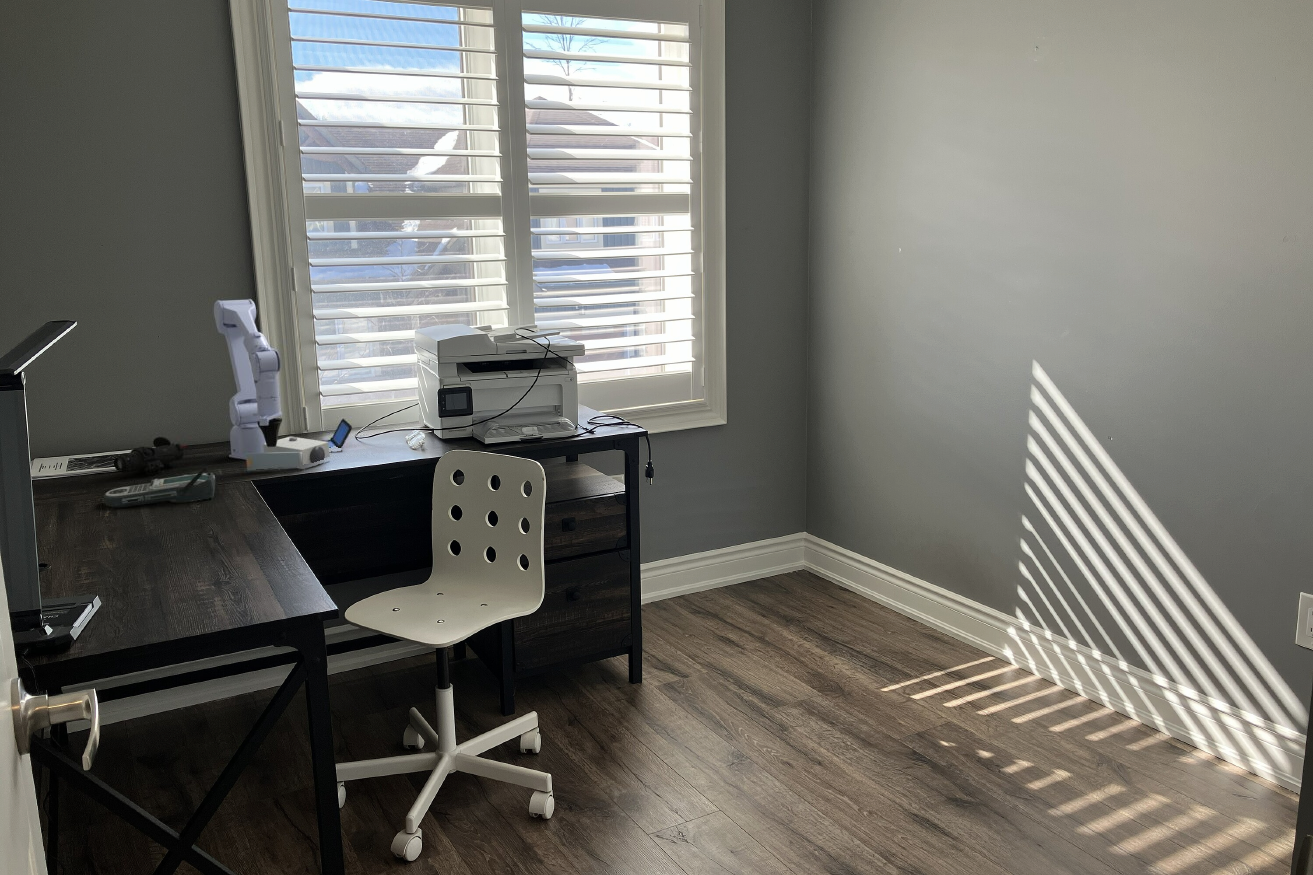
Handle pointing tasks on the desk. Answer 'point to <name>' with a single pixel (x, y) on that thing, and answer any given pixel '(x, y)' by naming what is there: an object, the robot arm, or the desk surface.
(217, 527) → the desk surface
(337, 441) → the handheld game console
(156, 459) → the night vision scope
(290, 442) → the camera body
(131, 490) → the communication device
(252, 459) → the side door
